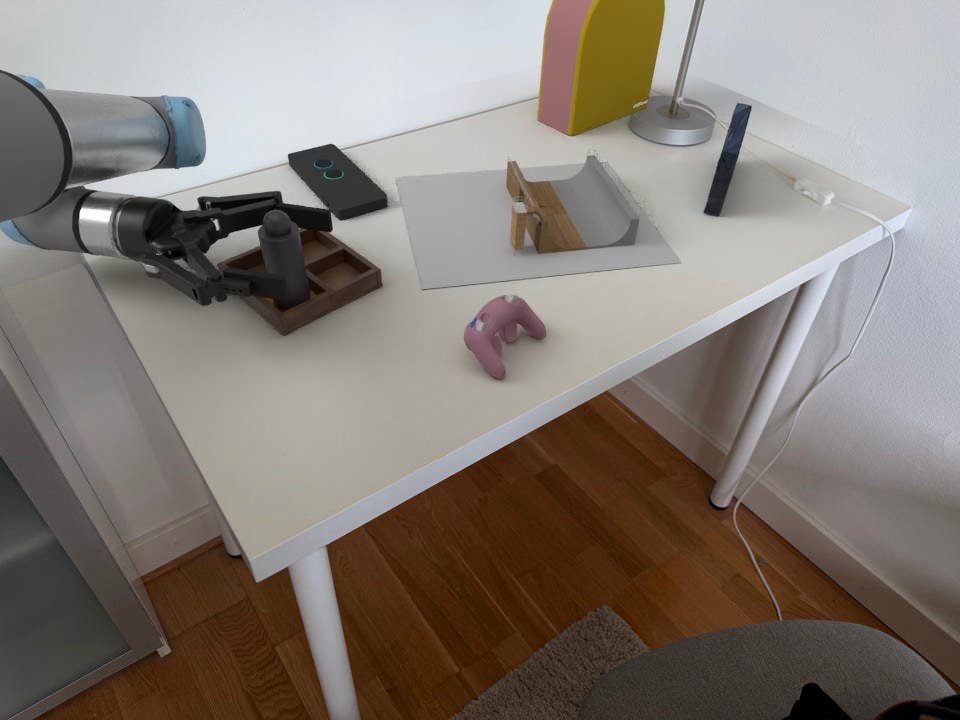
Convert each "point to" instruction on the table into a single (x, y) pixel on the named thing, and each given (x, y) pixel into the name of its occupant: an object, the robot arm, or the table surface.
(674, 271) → the table surface
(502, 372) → the video game controller
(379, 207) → the smart home device
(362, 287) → the grid
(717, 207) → the vhs cassette tape
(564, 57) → the yellow and pink slab
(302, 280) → the pawn
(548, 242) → the skate ramp
